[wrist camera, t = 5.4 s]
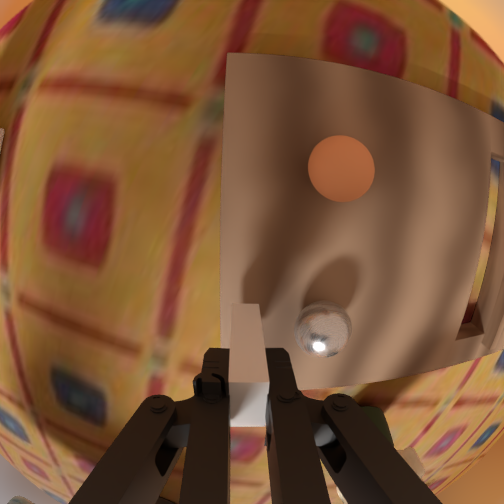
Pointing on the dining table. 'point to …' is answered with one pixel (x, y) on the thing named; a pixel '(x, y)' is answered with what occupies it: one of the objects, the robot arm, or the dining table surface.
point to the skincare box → (1, 137)
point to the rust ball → (341, 168)
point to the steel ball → (323, 329)
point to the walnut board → (359, 218)
